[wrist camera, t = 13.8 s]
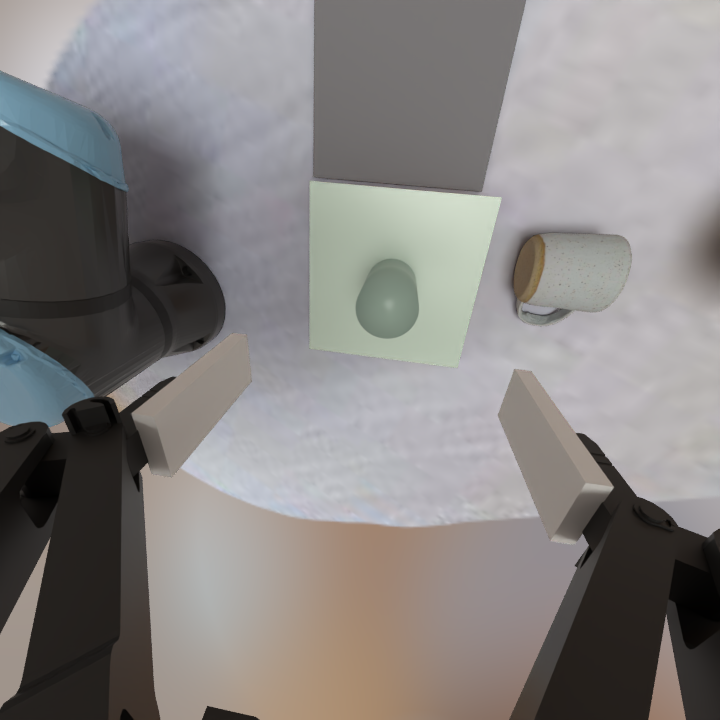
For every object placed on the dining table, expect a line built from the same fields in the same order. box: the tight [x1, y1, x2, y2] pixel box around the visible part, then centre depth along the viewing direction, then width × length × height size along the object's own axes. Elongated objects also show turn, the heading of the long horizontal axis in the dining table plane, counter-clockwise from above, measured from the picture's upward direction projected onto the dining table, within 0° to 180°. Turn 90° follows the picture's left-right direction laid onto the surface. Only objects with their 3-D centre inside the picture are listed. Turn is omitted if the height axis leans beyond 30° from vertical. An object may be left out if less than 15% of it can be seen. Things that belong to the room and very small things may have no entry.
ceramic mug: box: [514, 233, 632, 326], centre depth 33 cm, size 11×8×8 cm
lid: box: [309, 181, 502, 368], centre depth 29 cm, size 17×17×9 cm
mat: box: [313, 0, 526, 192], centre depth 29 cm, size 18×18×1 cm
